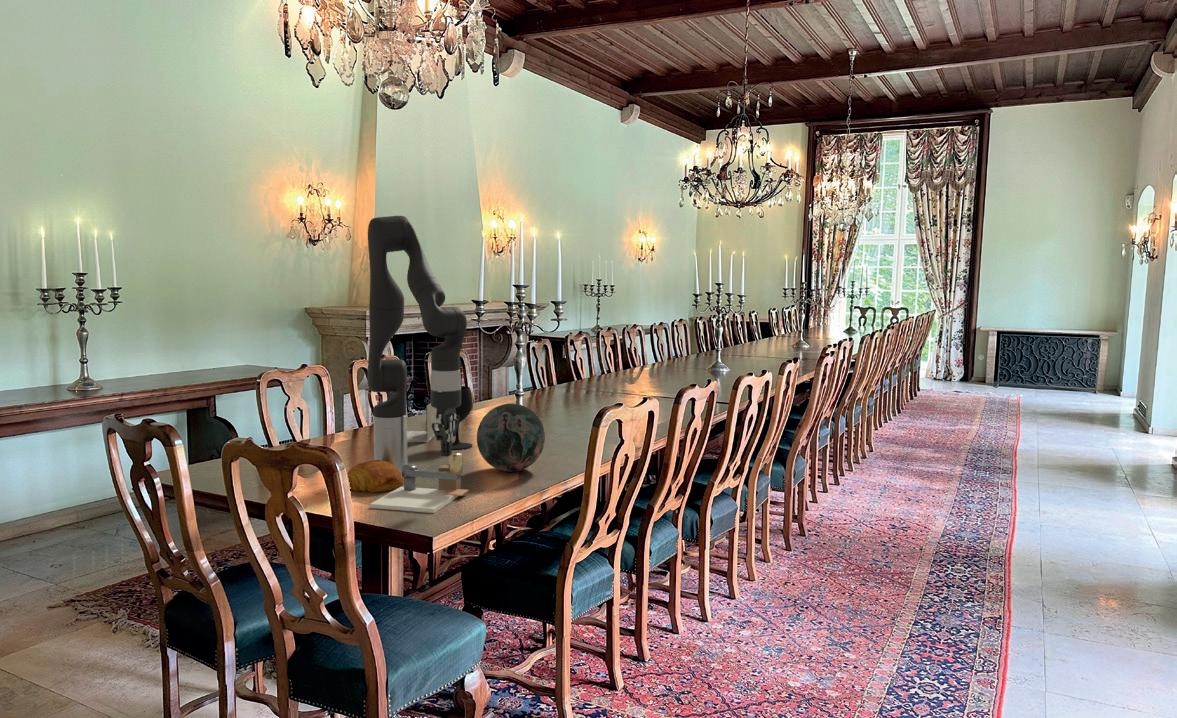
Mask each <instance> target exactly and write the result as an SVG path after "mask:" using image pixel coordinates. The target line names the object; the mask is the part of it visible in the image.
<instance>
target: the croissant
mask: <svg viewBox="0 0 1177 718" xmlns="http://www.w3.org/2000/svg"><path fill="white" fill-rule="evenodd" d="M347 474H348V478H349V482H350V487H351V490H350V491H354V492H362V493H365V492H366V493H369V494H372V493H382V492H387V491H394V490H396V489H398V488H399V487H402V485H404V477H403V476H402V474H401V472H400V471H399V470H398V469H397V468H396V467H395V466H394V465H393V464H392V463H391V462H387V461H384V460H374V459H373V460H368V461H364V462H361V463H358V464H356V465H354V466H352V467H351V468H350V469H349V470H348V471H347Z"/></svg>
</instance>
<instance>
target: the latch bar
mask: <svg viewBox="0 0 1177 718" xmlns="http://www.w3.org/2000/svg"><path fill="white" fill-rule="evenodd" d="M447 459H448V460H447V461H448V464H447V465H448V470H449V471H443V470H439V469H427V468H418V465H417V464H408V465H403V466H402V478H404V477H416V478H428V479H437V480H439V479H450V480H458V479H460V478H462V474H463V465H464V463H463V461H464V460H463V452H460V451H454V452H453V451H452V454H451V455H450V456H448V457H447Z"/></svg>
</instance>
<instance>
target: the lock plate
mask: <svg viewBox="0 0 1177 718" xmlns="http://www.w3.org/2000/svg"><path fill="white" fill-rule="evenodd" d="M437 470H443V471H449V470H448V464H442V465H440V466H438V469H437ZM461 478H462V477H461ZM461 478H460V479H458V480H450V479H438V488H426V487H417V485H416V482H417V481H416V479H417V477H403V486H399V487H397V488H395V489H393V490H391V491H390V492H389V493H387V494H385V495H384V496H381V497H380V498H378V499H376V500H374V501H372V502H371V503H370V504H369V508H370V509H378V510H379V509H380V510H393V511H403V512H404V511H405V512H415V513H416V512H417V513H427V514H428V513H430V514H435V513H436V512H438V511H439V510H441V509H442V508H444V507H445V506H446V505H448V504H449V503H451V502H452V501H454V500H455V499H457V498H458V497H459V496H460V497H462V496H463V495H465V494H466V493H468V492H469V491H470V490H469V489H466V488H465V489H462V485H461V483H462V482H461V481H462V479H461Z"/></svg>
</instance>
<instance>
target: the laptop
mask: <svg viewBox="0 0 1177 718" xmlns="http://www.w3.org/2000/svg"><path fill="white" fill-rule="evenodd" d="M425 409H426V410H425V411H426V412H425V413H426V416H425V417H426V430H425V431H424V430H407V443H409V444H410V443H414V442H428V443H429V441H431V439H432V438H433V437H435V434H434V432H433V429H432V423H436V412H437V409H436V408H434V407H432V406H431V402H430V403H429V404H427V405H426V407H425ZM414 444H415V443H414Z"/></svg>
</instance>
